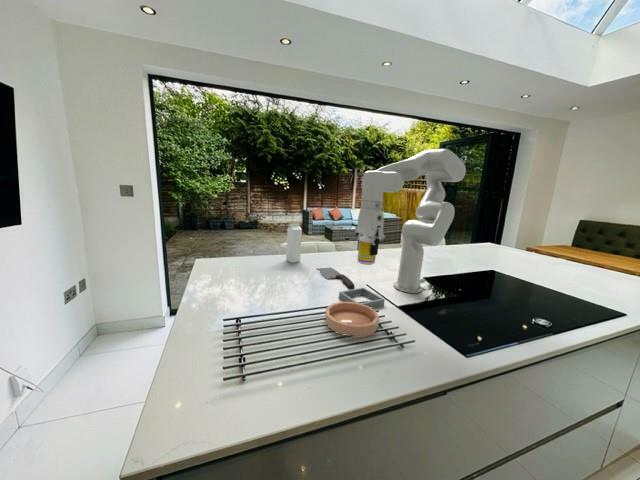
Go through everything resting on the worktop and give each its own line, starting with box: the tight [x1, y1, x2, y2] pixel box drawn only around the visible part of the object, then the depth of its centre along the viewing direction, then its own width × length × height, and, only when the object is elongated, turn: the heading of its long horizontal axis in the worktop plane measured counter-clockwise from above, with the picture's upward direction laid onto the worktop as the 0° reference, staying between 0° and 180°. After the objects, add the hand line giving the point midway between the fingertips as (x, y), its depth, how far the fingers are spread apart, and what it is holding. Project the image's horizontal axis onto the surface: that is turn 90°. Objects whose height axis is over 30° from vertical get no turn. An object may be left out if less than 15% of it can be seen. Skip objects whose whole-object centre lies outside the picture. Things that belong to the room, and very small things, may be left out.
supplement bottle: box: [357, 230, 377, 266], centre depth 102 cm, size 7×7×13 cm
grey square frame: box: [338, 287, 385, 308], centre depth 106 cm, size 13×13×2 cm
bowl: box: [324, 301, 380, 338], centre depth 89 cm, size 17×17×4 cm
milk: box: [285, 222, 303, 264], centre depth 152 cm, size 6×6×22 cm
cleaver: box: [317, 267, 355, 290], centre depth 131 cm, size 29×10×2 cm, turn 24°
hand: (367, 252), depth 102 cm, fingers closed on supplement bottle, 6 cm apart
